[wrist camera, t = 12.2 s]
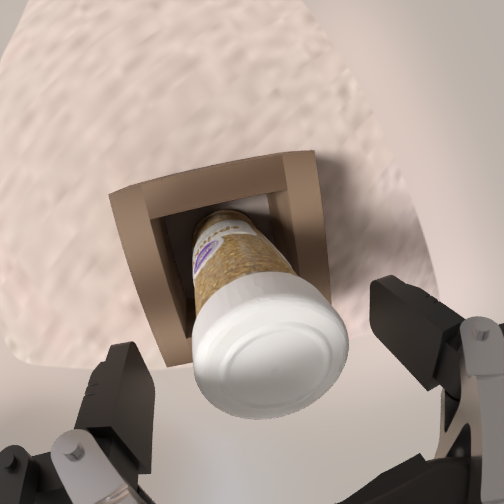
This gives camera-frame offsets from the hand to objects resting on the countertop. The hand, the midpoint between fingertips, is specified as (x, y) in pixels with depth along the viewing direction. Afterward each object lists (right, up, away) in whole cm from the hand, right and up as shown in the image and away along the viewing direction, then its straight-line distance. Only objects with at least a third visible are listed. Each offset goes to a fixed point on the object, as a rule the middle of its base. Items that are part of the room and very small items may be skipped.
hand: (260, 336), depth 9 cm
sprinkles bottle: (-2, +3, +11) cm, 12 cm away
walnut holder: (-2, +3, +11) cm, 12 cm away
